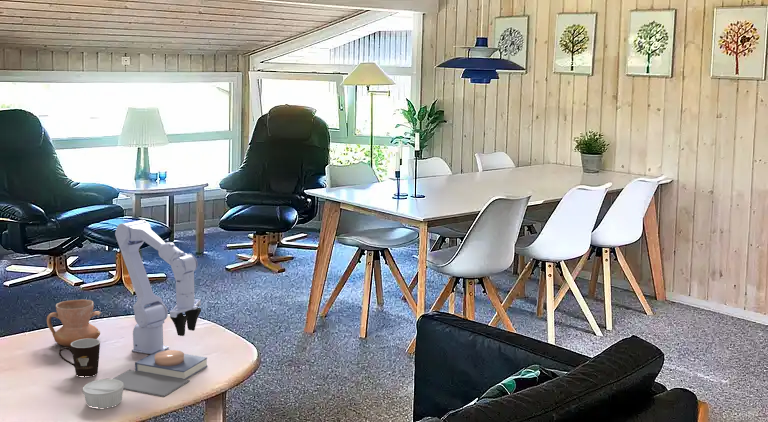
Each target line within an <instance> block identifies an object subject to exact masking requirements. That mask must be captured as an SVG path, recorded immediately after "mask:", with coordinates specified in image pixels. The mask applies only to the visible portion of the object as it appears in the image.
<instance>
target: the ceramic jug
mask: <svg viewBox="0 0 768 422" xmlns="http://www.w3.org/2000/svg"><path fill="white" fill-rule="evenodd" d="M55 309H56V310H55V311H56V312H55V311H54V312H50V313H49V314H48V315H47V316H46V324H47V327H48V329H49V330H50V332H51V334H52V336H53V339H54V342H56V344H58V345H59V346H61V347H68V348H71V343H72V342H74V341H76V340H80V339H97V340H98V338H99V337H100V335H101V331H100V330H99V329H98V328H97V327H96V326H95V325H92V324H91V323H89V322H90V320H91V319H92V317H94V316H98V317H100V315H101V313H102V312H101V311H99V310H95V311H94V301H93V300H91V299H72V300H63V301H60V302H58V303H56V304H55ZM52 318H56V319H58V320H60V322H61V324H62V326H61V327H60V328H59V329H58V330H56V329H54V326H53V324H52Z"/></svg>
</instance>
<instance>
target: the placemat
mask: <svg viewBox="0 0 768 422" xmlns="http://www.w3.org/2000/svg"><path fill="white" fill-rule="evenodd" d="M112 379H116V380H120V381H122V382H123V384H124V388H123V390H125V389H127V391H131V390H132V391H131V392H136V391H137V392H138V393H143V394H148V395H151V396H152V395H153V396H158V397H166V396H169V395H170V394H171V393H173V392H174V391H177V390H178V389H179V388H181V387H183V386H184V385H186V384H188V383H189V382H190V379H180V378H175V377H169V376H163V375H158V374H152V373H147V372H141V371H135V369H129V370H126V371H124V372H123V373H121V374H119V375H117V376H114V377H113V378H112Z"/></svg>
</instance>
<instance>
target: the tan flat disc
mask: <svg viewBox="0 0 768 422" xmlns="http://www.w3.org/2000/svg"><path fill="white" fill-rule="evenodd" d="M184 354H185V353H184V352H183V351H181V350H175V349H174V350H173V349H169V350H167V349H166V350H165V351H162V352H159V353H157V354H155V364H157V365H160V366H174V365H178V364H181V363H183V362H184Z"/></svg>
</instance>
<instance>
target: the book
mask: <svg viewBox="0 0 768 422" xmlns="http://www.w3.org/2000/svg"><path fill="white" fill-rule="evenodd" d="M162 351H166V350H158V351H156V352H154V353H152V354H148V355H146V356H145V357H143V358H141V359H139V360H137V361H135V362H134V370H135V371H141V372H147V373H152V374H158V375H163V376H169V377H175V378H180V379H186V380H188V379H189V378H191V377H192V376H194V375H196V374H198V373H199V372H200V371H202V370H204V369H206V368H207V367H208V361H207V360H208V357H206V356H200V355H194V354H188V353H184V362H183V363H181V364H178V365H174V366H160V365H157V364H155V354H157V353H159V352H162Z"/></svg>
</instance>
